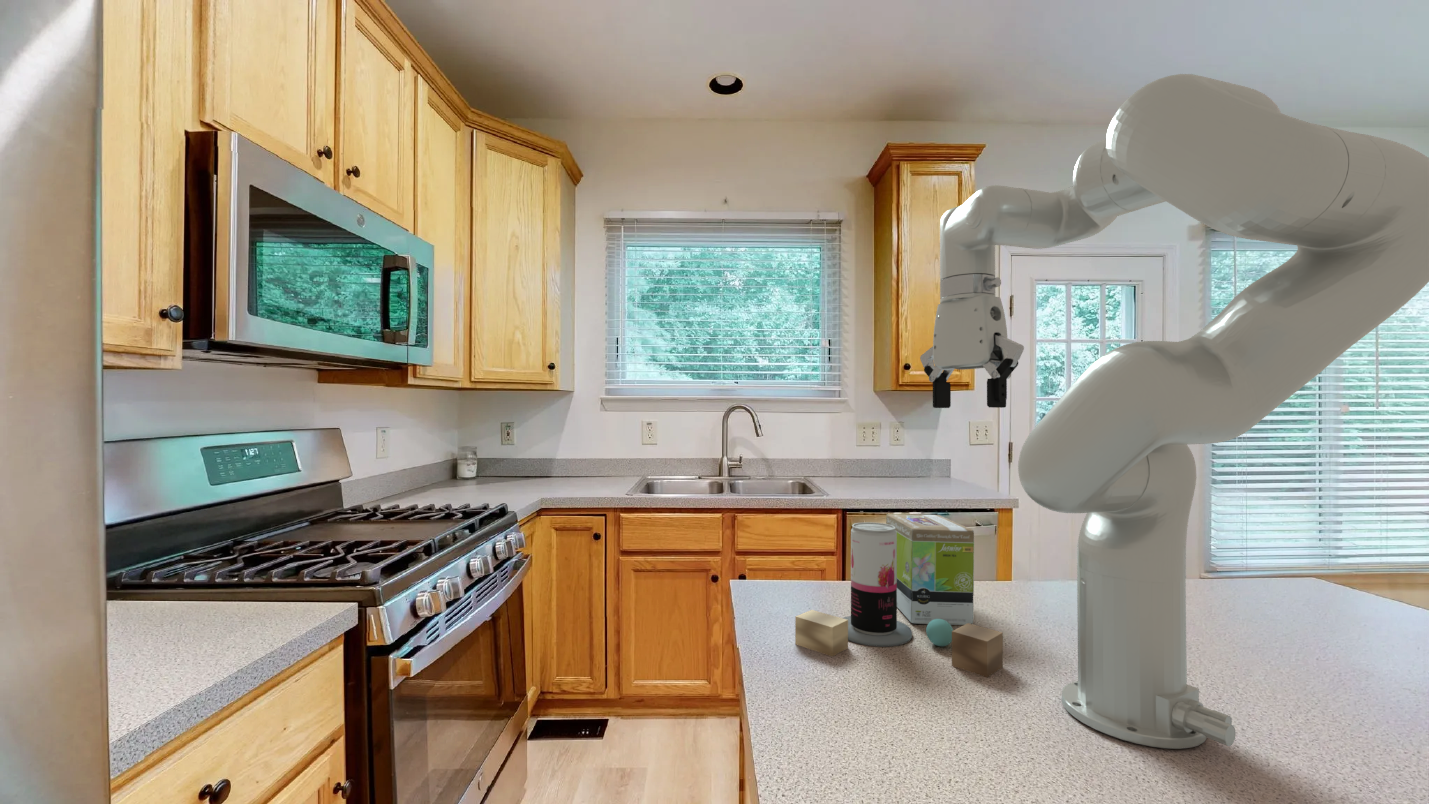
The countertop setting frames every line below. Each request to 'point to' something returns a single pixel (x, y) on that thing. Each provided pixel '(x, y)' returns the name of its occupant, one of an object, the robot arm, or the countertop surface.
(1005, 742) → the countertop surface
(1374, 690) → the countertop surface
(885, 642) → the grey round disc
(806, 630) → the oak block
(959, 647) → the walnut cube
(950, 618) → the tea box
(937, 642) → the teal rubber ball
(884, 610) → the beverage can
